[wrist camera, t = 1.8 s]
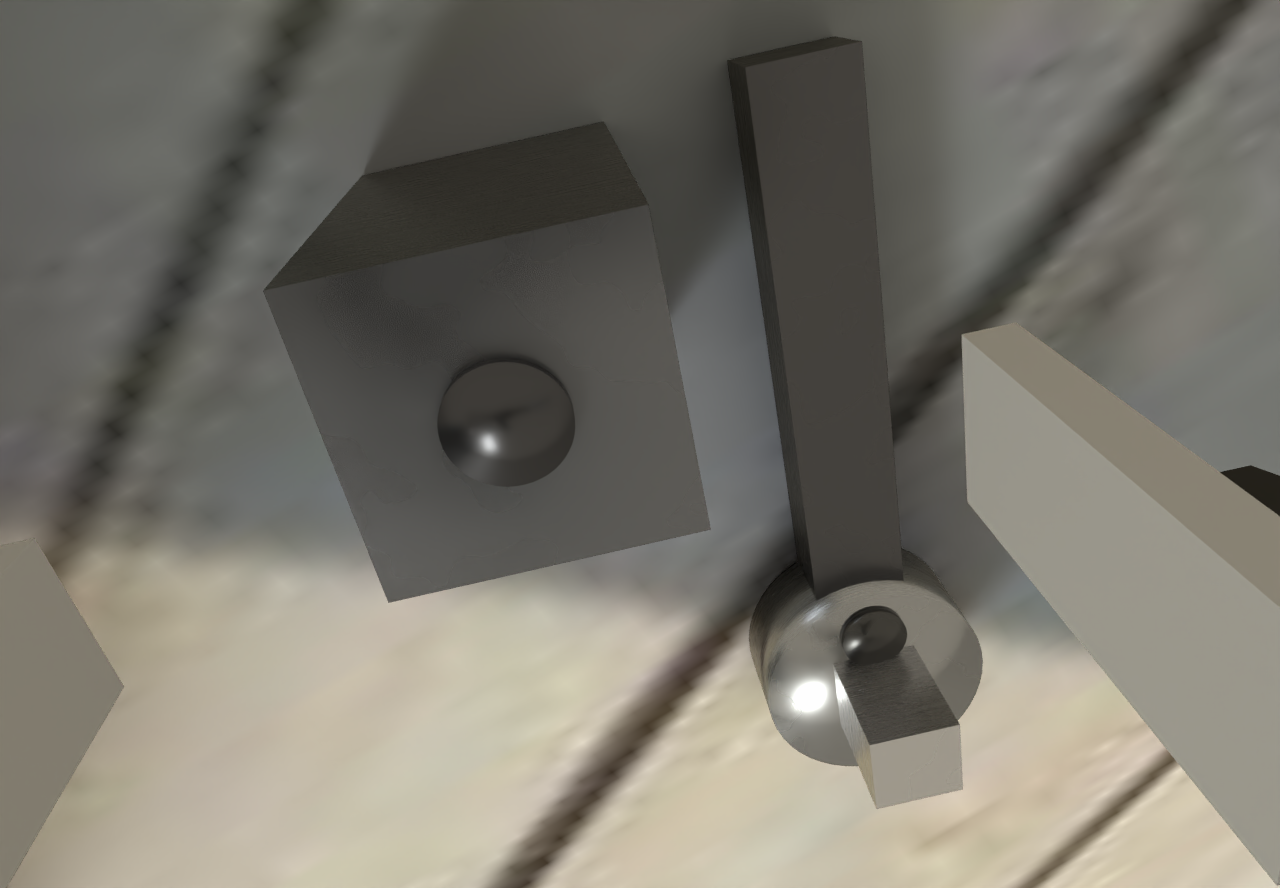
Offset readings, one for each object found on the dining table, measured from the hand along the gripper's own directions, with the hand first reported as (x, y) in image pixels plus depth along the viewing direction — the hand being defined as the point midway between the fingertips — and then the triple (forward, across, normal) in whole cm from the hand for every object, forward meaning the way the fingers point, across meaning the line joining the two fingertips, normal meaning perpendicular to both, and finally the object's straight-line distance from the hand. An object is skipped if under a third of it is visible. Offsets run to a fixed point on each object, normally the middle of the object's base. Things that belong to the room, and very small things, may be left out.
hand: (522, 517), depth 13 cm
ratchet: (+14, +8, -7) cm, 17 cm away
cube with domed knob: (+14, 0, 0) cm, 14 cm away
